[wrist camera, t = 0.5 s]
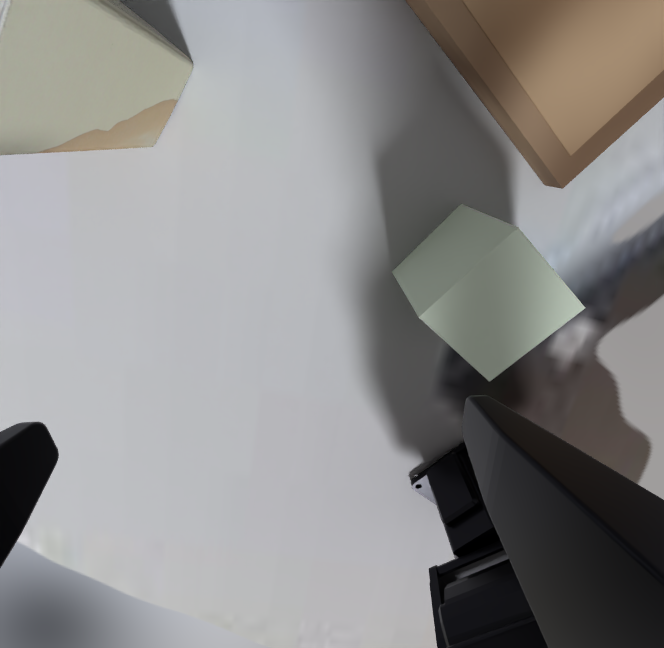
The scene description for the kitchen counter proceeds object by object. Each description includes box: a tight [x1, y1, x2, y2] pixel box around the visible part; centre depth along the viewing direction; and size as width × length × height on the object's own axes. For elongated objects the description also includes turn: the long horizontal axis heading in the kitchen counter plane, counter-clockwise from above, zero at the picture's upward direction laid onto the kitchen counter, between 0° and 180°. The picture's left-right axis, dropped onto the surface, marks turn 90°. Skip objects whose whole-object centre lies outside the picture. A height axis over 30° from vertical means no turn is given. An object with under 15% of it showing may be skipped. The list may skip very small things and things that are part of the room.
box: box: [0, 0, 193, 155], centre depth 11 cm, size 5×4×11 cm
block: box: [392, 204, 585, 382], centre depth 18 cm, size 5×5×6 cm
